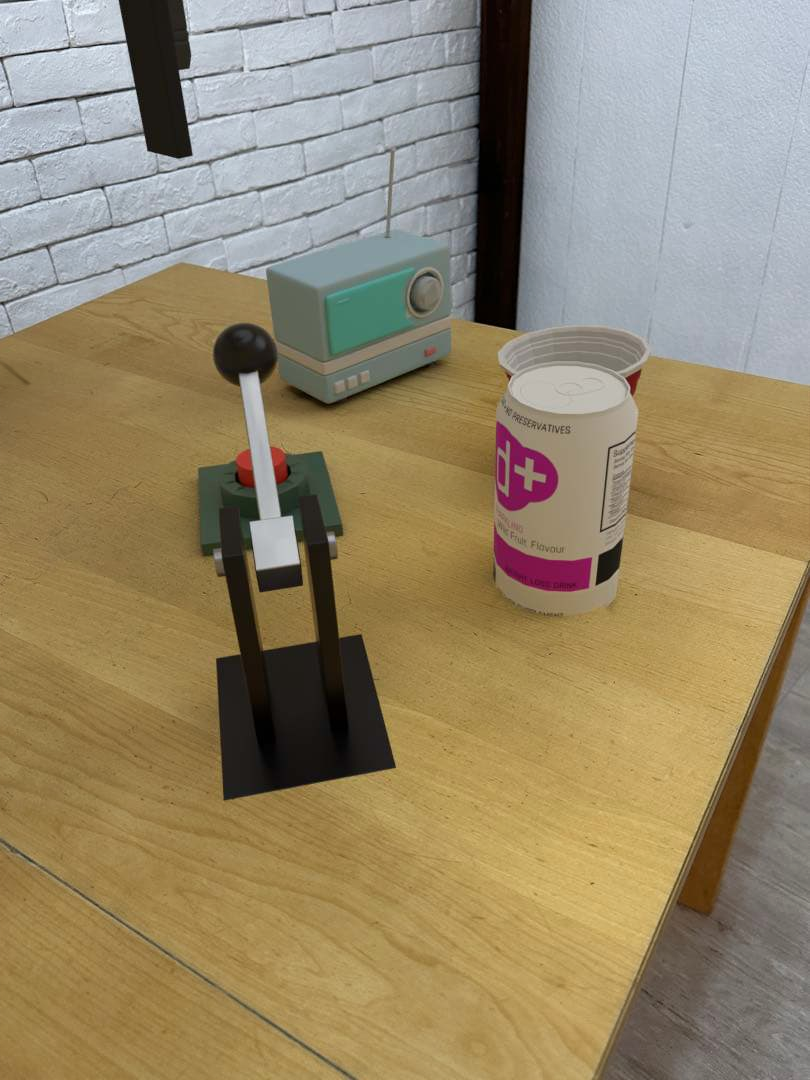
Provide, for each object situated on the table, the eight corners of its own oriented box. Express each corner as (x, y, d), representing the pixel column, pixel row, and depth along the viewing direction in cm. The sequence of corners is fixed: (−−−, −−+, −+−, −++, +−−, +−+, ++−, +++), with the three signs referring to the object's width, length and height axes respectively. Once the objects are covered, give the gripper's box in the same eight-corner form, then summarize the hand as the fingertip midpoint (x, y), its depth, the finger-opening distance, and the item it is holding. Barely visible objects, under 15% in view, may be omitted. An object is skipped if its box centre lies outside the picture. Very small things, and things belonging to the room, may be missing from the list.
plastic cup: (536, 443, 77) (542, 308, 71) (656, 477, 72) (675, 334, 65) (468, 501, 70) (468, 357, 64) (596, 543, 65) (611, 391, 58)
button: (238, 469, 69) (234, 449, 68) (285, 462, 69) (282, 442, 68) (240, 493, 66) (237, 473, 65) (290, 486, 66) (287, 466, 65)
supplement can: (532, 645, 56) (544, 432, 48) (472, 573, 63) (473, 373, 54) (641, 608, 59) (671, 399, 50) (573, 542, 65) (589, 347, 57)
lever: (214, 356, 53) (205, 312, 50) (275, 348, 54) (270, 305, 51) (246, 600, 46) (239, 567, 42) (317, 589, 46) (315, 555, 43)
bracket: (218, 672, 56) (177, 480, 48) (363, 648, 57) (346, 456, 49) (226, 815, 47) (177, 608, 39) (397, 782, 48) (383, 576, 40)
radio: (335, 417, 83) (314, 190, 71) (279, 387, 89) (251, 173, 77) (460, 365, 91) (459, 154, 80) (401, 341, 97) (392, 141, 85)
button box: (202, 490, 73) (193, 447, 71) (324, 473, 75) (320, 430, 72) (205, 569, 64) (196, 523, 62) (344, 548, 66) (340, 502, 64)
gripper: (-855, -863, 16) (-293, 281, 29) (255, -539, 30) (317, 141, 42) (-805, -684, 21) (-339, 237, 33) (140, -473, 35) (225, 123, 47)
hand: (29, 184), depth 38 cm, fingers open, 13 cm apart
